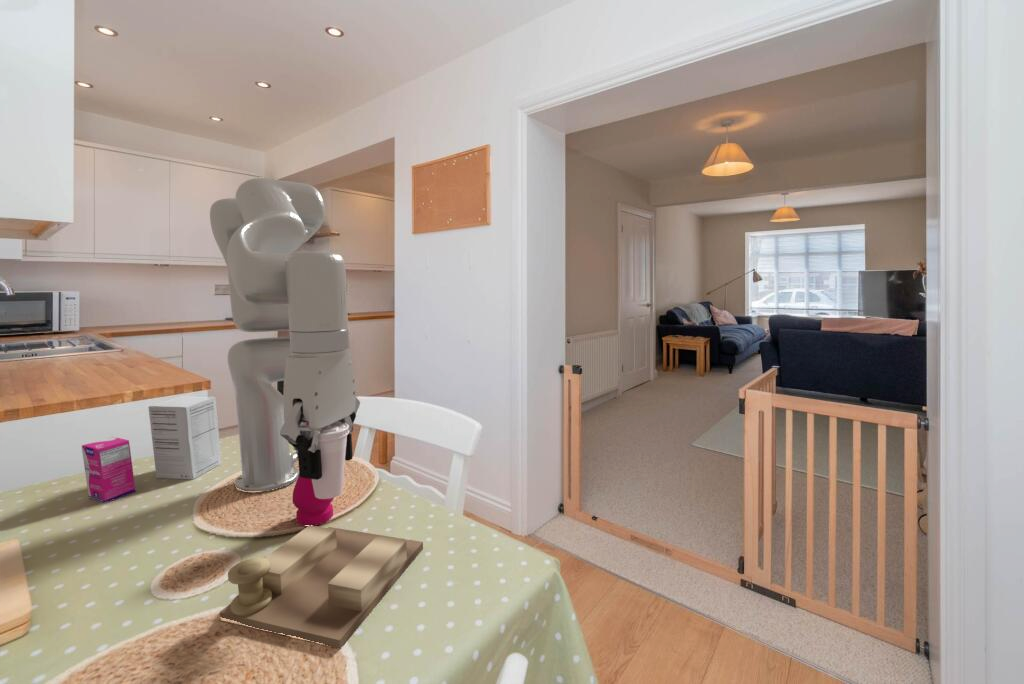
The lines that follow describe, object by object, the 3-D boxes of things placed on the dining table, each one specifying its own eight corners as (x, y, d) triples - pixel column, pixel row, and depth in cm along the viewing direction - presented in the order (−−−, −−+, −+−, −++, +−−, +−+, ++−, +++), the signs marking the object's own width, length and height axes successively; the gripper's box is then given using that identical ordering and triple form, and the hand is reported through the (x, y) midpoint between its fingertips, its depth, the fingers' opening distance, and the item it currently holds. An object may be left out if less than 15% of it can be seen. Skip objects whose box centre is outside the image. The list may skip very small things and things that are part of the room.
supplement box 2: (187, 462, 114) (181, 395, 112) (223, 463, 113) (217, 395, 111) (154, 478, 105) (146, 405, 103) (192, 480, 104) (185, 406, 102)
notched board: (329, 533, 82) (327, 499, 81) (423, 548, 77) (422, 513, 76) (220, 620, 61) (216, 576, 60) (340, 649, 56) (337, 601, 55)
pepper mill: (344, 513, 89) (339, 410, 86) (313, 531, 82) (307, 421, 80) (316, 505, 92) (310, 406, 89) (285, 522, 85) (277, 416, 83)
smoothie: (323, 507, 63) (317, 405, 61) (294, 496, 66) (288, 399, 64) (361, 489, 68) (357, 395, 66) (333, 480, 71) (328, 390, 70)
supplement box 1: (87, 498, 95) (80, 444, 94) (120, 487, 101) (114, 435, 99) (103, 503, 93) (97, 448, 91) (137, 491, 98) (131, 439, 97)
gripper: (336, 335, 74) (341, 445, 76) (247, 350, 57) (258, 491, 59) (378, 336, 72) (383, 449, 74) (298, 353, 55) (308, 498, 57)
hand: (327, 466), depth 67 cm, fingers closed on smoothie, 6 cm apart
